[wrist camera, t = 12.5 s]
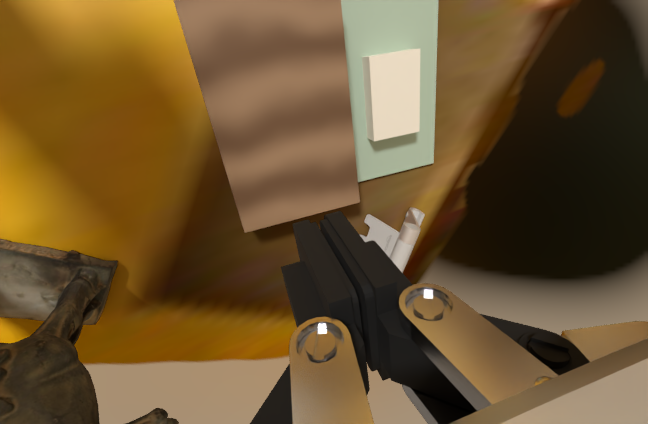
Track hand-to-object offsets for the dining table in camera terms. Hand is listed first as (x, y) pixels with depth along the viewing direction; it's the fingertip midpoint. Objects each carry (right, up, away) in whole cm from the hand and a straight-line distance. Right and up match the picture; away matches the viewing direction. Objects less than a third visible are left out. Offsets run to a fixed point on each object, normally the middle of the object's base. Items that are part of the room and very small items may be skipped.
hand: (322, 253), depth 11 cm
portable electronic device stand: (+9, -1, +35) cm, 37 cm away
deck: (-5, +12, +24) cm, 27 cm away
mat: (+8, +16, +27) cm, 32 cm away
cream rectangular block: (+8, +14, +24) cm, 29 cm away
